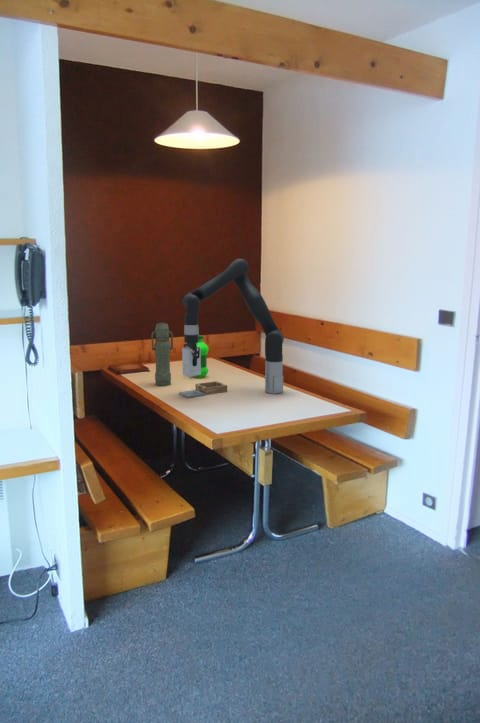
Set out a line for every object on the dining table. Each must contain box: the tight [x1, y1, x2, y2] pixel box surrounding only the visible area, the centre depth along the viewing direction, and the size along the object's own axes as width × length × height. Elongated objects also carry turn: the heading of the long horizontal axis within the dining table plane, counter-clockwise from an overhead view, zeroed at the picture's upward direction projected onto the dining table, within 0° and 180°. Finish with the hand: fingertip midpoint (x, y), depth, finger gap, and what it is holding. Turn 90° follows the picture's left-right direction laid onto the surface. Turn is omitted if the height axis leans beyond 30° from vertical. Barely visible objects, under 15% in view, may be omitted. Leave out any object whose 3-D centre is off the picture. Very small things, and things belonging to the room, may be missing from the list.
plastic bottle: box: [195, 334, 210, 379], centre depth 343 cm, size 10×10×25 cm
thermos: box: [151, 322, 174, 387], centre depth 323 cm, size 9×12×35 cm
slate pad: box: [178, 389, 206, 399], centre depth 304 cm, size 10×10×1 cm
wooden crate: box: [195, 380, 228, 396], centre depth 312 cm, size 11×13×4 cm
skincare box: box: [181, 347, 201, 378], centre depth 301 cm, size 8×6×15 cm
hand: (191, 364), depth 301 cm, fingers closed on skincare box, 6 cm apart
